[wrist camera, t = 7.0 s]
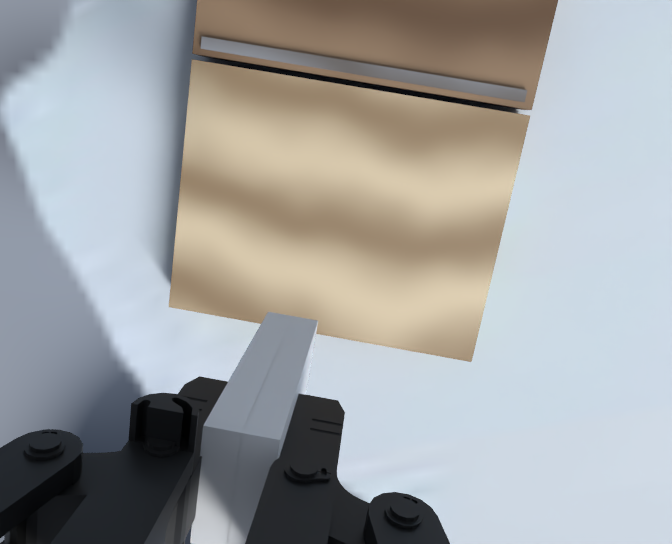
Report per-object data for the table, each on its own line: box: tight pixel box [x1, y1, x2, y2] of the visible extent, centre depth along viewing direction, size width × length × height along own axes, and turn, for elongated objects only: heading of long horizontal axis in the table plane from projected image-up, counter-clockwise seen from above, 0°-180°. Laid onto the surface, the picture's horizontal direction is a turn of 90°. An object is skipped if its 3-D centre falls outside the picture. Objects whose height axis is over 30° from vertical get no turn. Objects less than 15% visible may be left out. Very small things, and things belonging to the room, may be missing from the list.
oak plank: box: [169, 59, 530, 362], centre depth 35 cm, size 14×18×2 cm
